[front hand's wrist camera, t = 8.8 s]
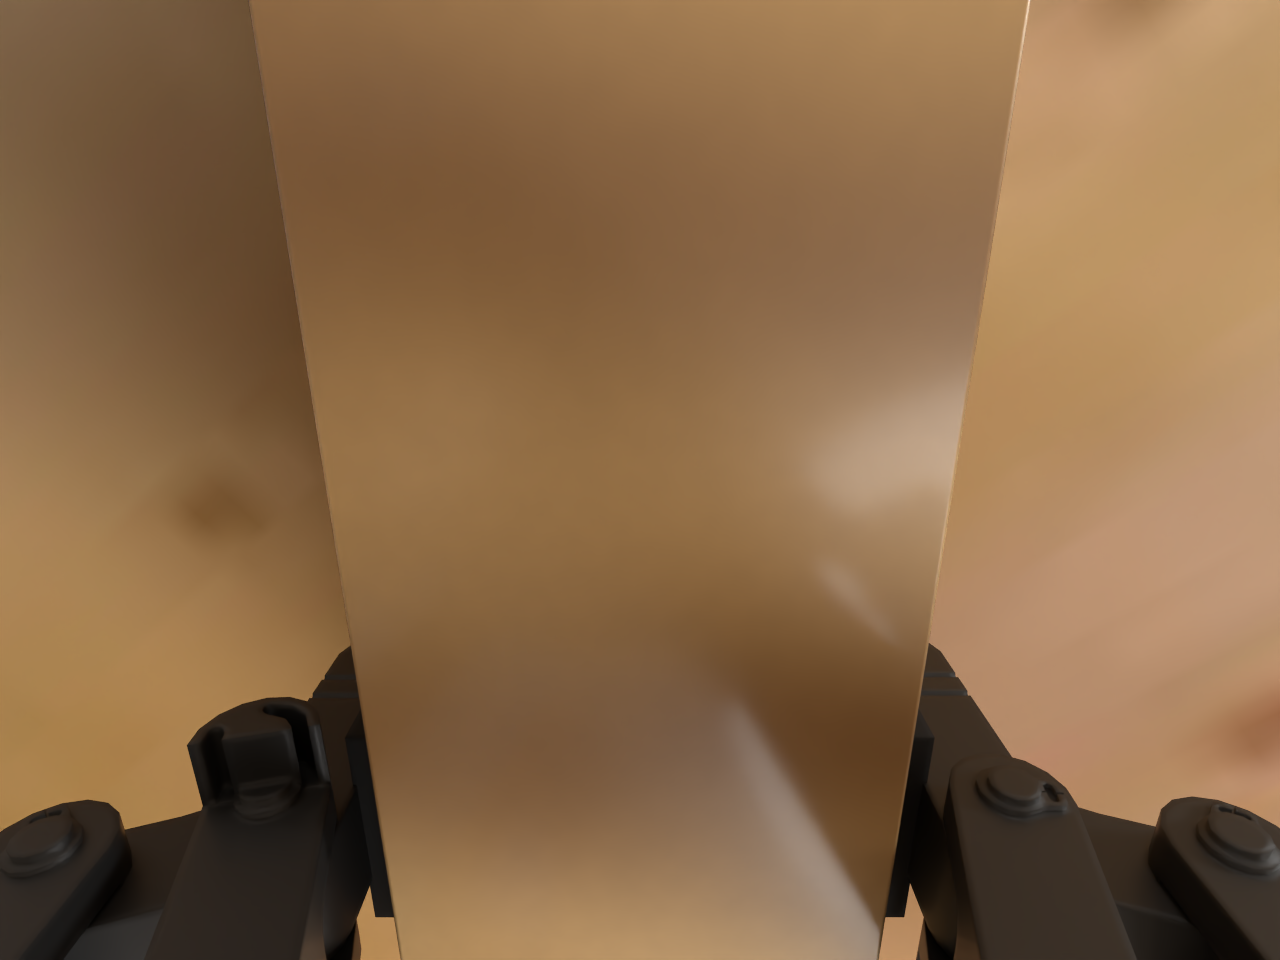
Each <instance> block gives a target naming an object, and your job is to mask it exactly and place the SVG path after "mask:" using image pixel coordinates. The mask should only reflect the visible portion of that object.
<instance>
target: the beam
mask: <svg viewBox="0 0 1280 960" xmlns="http://www.w3.org/2000/svg"><path fill="white" fill-rule="evenodd" d="M248 2H249V8H250V14H251V20H252V27H253V33H254V39H255V46H256V52H257V58H258V64H259V71H260V77H261V83H262V90H263V96H264V102H265V108H266V115H267V121H268V127H269V134H270V140H271V146H272V153H273V159H274V165H275V171H276V178H277V184H278V190H279V197H280V203H281V209H282V215H283V222H284V228H285V234H286V241H287V247H288V253H289V259H290V266H291V272H292V278H293V285H294V291H295V297H296V303H297V310H298V316H299V322H300V329H301V335H302V341H303V348H304V354H305V360H306V366H307V373H308V379H309V385H310V392H311V398H312V404H313V410H314V417H315V423H316V429H317V436H318V442H319V448H320V454H321V461H322V467H323V473H324V480H325V486H326V492H327V498H328V505H329V511H330V517H331V524H332V530H333V536H334V543H335V549H336V555H337V561H338V568H339V574H340V580H341V587H342V593H343V599H344V605H345V612H346V618H347V624H348V631H349V637H350V643H351V649H352V656H353V662H354V668H355V675H356V681H357V687H358V693H359V700H360V706H361V712H362V719H363V725H364V731H365V737H366V744H367V750H368V756H369V763H370V769H371V775H372V782H373V788H374V794H375V800H376V807H377V813H378V819H379V826H380V832H381V838H382V844H383V851H384V857H385V863H386V870H387V876H388V882H389V888H390V895H391V901H392V907H393V914H394V920H395V926H396V932H397V939H398V945H399V951H400V958H401V960H879V953H880V947H881V941H882V935H883V928H884V922H885V916H886V909H887V903H888V897H889V890H890V884H891V878H892V872H893V865H894V859H895V853H896V846H897V840H898V834H899V827H900V821H901V815H902V809H903V802H904V796H905V790H906V783H907V777H908V771H909V764H910V758H911V752H912V745H913V739H914V733H915V727H916V720H917V714H918V708H919V701H920V695H921V689H922V682H923V676H924V670H925V664H926V657H927V651H928V645H929V638H930V632H931V626H932V619H933V613H934V607H935V601H936V594H937V588H938V582H939V575H940V569H941V563H942V556H943V550H944V544H945V538H946V531H947V525H948V519H949V512H950V506H951V500H952V493H953V487H954V481H955V475H956V468H957V462H958V456H959V449H960V443H961V437H962V430H963V424H964V418H965V411H966V405H967V399H968V393H969V386H970V380H971V374H972V367H973V361H974V355H975V348H976V342H977V336H978V330H979V323H980V317H981V311H982V304H983V298H984V292H985V285H986V279H987V273H988V267H989V260H990V254H991V248H992V241H993V235H994V229H995V222H996V216H997V210H998V204H999V197H1000V191H1001V185H1002V178H1003V172H1004V166H1005V159H1006V153H1007V147H1008V140H1009V134H1010V128H1011V122H1012V115H1013V109H1014V103H1015V96H1016V90H1017V84H1018V77H1019V71H1020V65H1021V59H1022V52H1023V46H1024V40H1025V33H1026V27H1027V21H1028V14H1029V8H1030V2H1031V0H248Z"/></svg>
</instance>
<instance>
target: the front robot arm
mask: <svg viewBox="0 0 1280 960" xmlns="http://www.w3.org/2000/svg"><path fill="white" fill-rule="evenodd" d="M187 747H188V751H189V755H190V759H191V762H192V766H193V770H194V774H195V778H196V781H197V785H198V789H199V793H200V797H201V800H202V804H203V807H202V810H201V811H198V812H195V813H192V814H188V815H185V816H182V817H178V818H173V819H169V820H165V821H160V822H156V823H152V824H148V825H143V826H139V827H135V828H130V829H126V830H125V829H124V826H123V823H122V820H121V817H120V814H119V812H118V811H117V810H116V809H114V808H113V807H112V806H111V805H110V804H109V803H105V802H99V801H93V800H83V801H76V802H69V803H62V804H59V805H56V806H53V807H50V808H48V809H44V810H42V811H39V812H36V813H33V814H31V815H29V816H28V817H26V818H24V819H22V820H20V821H18V822H17V823H15V824H13V825H11V826H9V827H7V828H6V829H4V830H3V831H1V832H0V960H360V956H361V944H360V937H359V930H358V925H357V916H358V914H359V911H360V909H361V906H362V904H363V901H364V899H365V896H366V894H367V891H368V889H369V886H370V888H371V894H372V900H373V906H374V912H375V917H394V914H393V907H392V901H391V895H390V888H389V882H388V876H387V870H386V863H385V857H384V851H383V844H382V838H381V832H380V826H379V819H378V813H377V807H376V800H375V794H374V788H373V782H372V775H371V769H370V763H369V756H368V750H367V744H366V737H365V731H364V725H363V719H362V712H361V706H360V700H359V693H358V687H357V681H356V675H355V668H354V662H353V656H352V649H351V646H349V647H348V648H347V649H345V650H344V651H343V652H341V653H340V654H339V655H338V657H337V658H336V660H335V661H334V663H333V664H332V666H331V667H330V669H329V670H328V672H327V673H326V675H325V679H324V680H322V681H321V682H320V683H319V685H318V686H317V688H316V689H315V691H314V692H313V697H312V698H309V700H308V701H303V700H299V699H295V698H292V697H278V698H265V699H261V700H257V701H253V702H249V703H244V704H241V705H239V706H237V707H235V708H233V709H230V710H228V711H226V712H224V713H222V714H219V715H218V716H216V717H215V718H214V719H212V720H211V721H210V722H208V723H207V724H205V725H204V726H203V727H201V728H200V729H199V730H198V731H197V733H196V734H195V735H194V737H193V738H192V739H191V741H190V742H189V743H188V745H187ZM910 884H911V886H912V889H913V891H914V894H915V896H916V899H917V901H918V904H919V906H920V909H921V911H922V914H923V916H924V919H923V925H922V930H921V936H920V941H919V947H918V952H917V957H916V960H1280V828H1278V827H1277V826H1276V825H1274V824H1272V823H1270V822H1268V821H1266V820H1265V819H1263V818H1261V817H1259V816H1257V815H1255V814H1254V813H1252V812H1250V811H1248V810H1245V809H1242V808H1239V807H1237V806H1234V805H1231V804H1228V803H1225V802H1222V801H1219V800H1213V799H1206V798H1199V797H1186V798H1180V799H1174V800H1171V801H1170V802H1169V803H1168V804H1167V805H1166V806H1165V807H1163V808H1162V809H1161V812H1160V815H1159V818H1158V821H1157V824H1156V827H1154V826H1150V825H1146V824H1141V823H1137V822H1133V821H1129V820H1124V819H1120V818H1116V817H1111V816H1107V815H1103V814H1099V813H1095V812H1092V811H1089V810H1085V809H1082V808H1079V807H1078V806H1077V804H1076V803H1075V801H1074V800H1073V798H1072V797H1071V795H1070V793H1069V792H1068V790H1067V789H1066V788H1065V787H1064V786H1063V785H1062V784H1061V783H1059V782H1058V781H1057V780H1056V779H1055V778H1053V777H1052V776H1051V775H1050V774H1049V773H1047V772H1045V771H1043V770H1041V769H1040V768H1038V767H1036V766H1034V765H1032V764H1030V763H1028V762H1026V761H1023V760H1020V759H1016V758H1012V757H1011V755H1010V754H1009V752H1008V751H1007V749H1006V748H1005V746H1004V745H1003V743H1002V742H1001V740H1000V739H999V737H998V736H997V734H996V733H995V731H994V730H993V728H992V727H991V725H990V724H989V722H988V721H987V720H986V718H985V717H984V715H983V714H982V712H981V711H980V709H979V708H978V706H977V705H976V703H975V702H974V700H973V699H972V697H971V696H968V694H967V690H966V688H965V687H964V685H963V684H962V682H961V681H960V679H959V678H958V677H955V672H954V671H953V669H952V668H951V666H950V665H949V663H948V662H947V660H946V659H945V657H944V656H943V654H942V653H941V651H939V650H938V649H937V648H935V647H934V646H932V645H931V644H930V643H929V645H928V651H927V657H926V664H925V670H924V676H923V682H922V689H921V695H920V701H919V708H918V714H917V720H916V727H915V733H914V739H913V745H912V752H911V758H910V764H909V771H908V777H907V783H906V790H905V796H904V802H903V809H902V815H901V821H900V827H899V834H898V840H897V846H896V853H895V859H894V865H893V872H892V878H891V884H890V890H889V897H888V903H887V909H886V916H885V917H904V915H905V909H906V903H907V897H908V891H909V886H910Z"/></svg>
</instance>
